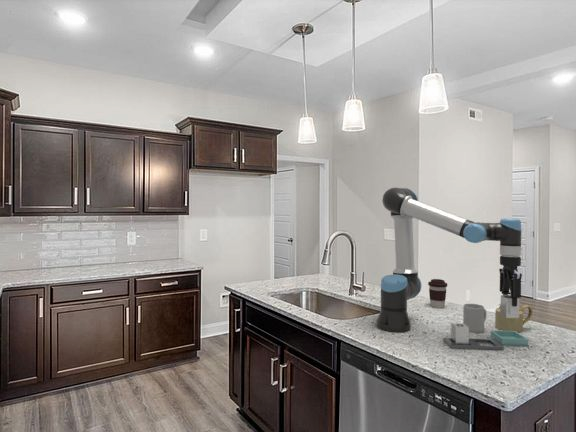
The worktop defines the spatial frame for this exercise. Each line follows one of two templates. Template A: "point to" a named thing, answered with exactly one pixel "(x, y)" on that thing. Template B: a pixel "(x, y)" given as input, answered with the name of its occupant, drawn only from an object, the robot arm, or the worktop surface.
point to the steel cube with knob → (505, 307)
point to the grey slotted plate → (475, 344)
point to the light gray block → (459, 334)
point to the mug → (474, 317)
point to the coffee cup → (437, 293)
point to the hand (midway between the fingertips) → (509, 311)
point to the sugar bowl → (511, 320)
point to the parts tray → (509, 338)
